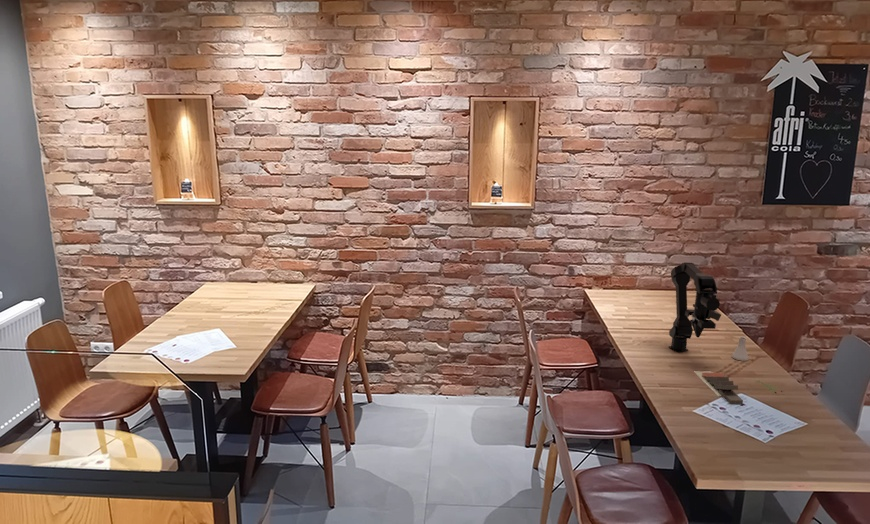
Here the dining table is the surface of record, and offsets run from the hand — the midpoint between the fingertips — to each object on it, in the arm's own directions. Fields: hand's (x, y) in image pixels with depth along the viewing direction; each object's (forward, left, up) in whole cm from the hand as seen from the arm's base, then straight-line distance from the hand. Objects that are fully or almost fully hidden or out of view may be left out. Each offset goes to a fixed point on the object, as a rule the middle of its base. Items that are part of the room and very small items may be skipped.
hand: (697, 337), depth 291 cm
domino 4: (+24, -9, -12) cm, 29 cm away
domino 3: (+21, -8, -12) cm, 25 cm away
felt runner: (+20, -7, -13) cm, 25 cm away
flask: (+1, +26, -13) cm, 29 cm away
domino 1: (+13, -5, -12) cm, 18 cm away
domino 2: (+17, -6, -12) cm, 21 cm away
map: (+33, +10, -14) cm, 37 cm away
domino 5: (+28, -10, -12) cm, 32 cm away
